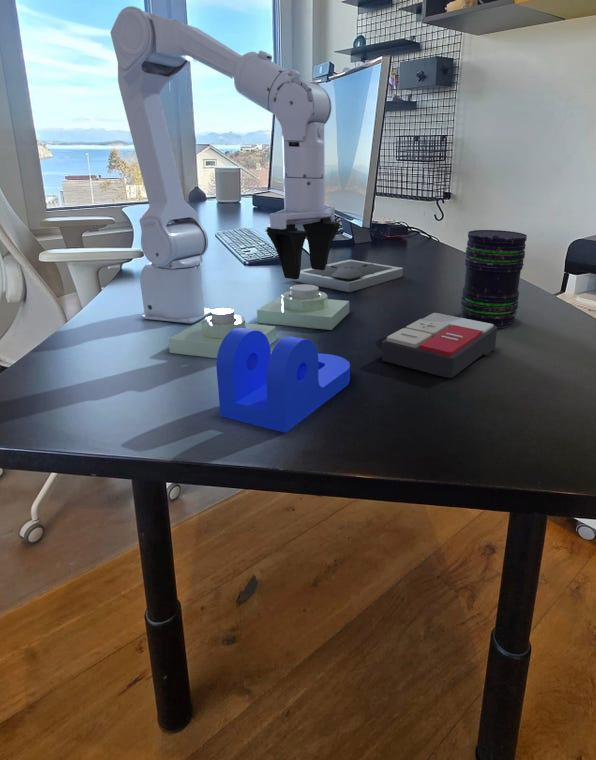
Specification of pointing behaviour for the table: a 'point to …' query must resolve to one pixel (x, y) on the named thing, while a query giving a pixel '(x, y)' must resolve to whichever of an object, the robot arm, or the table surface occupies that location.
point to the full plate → (304, 311)
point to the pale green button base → (211, 336)
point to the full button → (304, 291)
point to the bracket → (275, 379)
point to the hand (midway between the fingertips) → (305, 273)
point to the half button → (222, 316)
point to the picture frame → (349, 275)
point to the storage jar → (492, 276)
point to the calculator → (440, 344)
